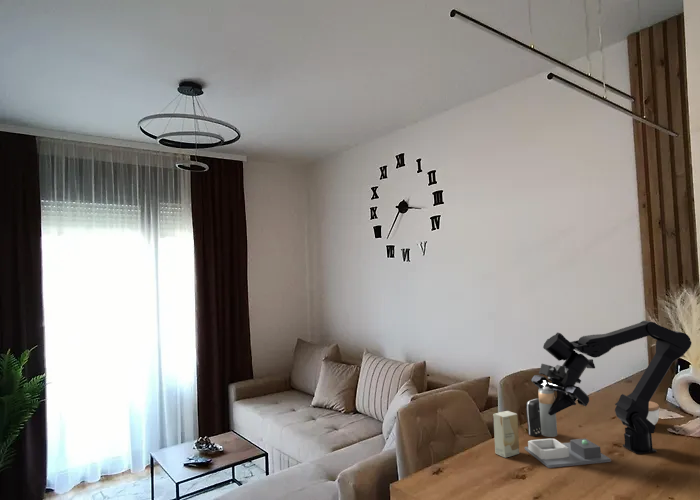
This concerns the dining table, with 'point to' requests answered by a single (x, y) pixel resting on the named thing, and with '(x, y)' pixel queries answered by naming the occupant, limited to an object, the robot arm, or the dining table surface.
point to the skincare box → (506, 434)
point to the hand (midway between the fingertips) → (543, 412)
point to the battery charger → (533, 417)
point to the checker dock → (565, 452)
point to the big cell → (547, 420)
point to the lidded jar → (653, 412)
